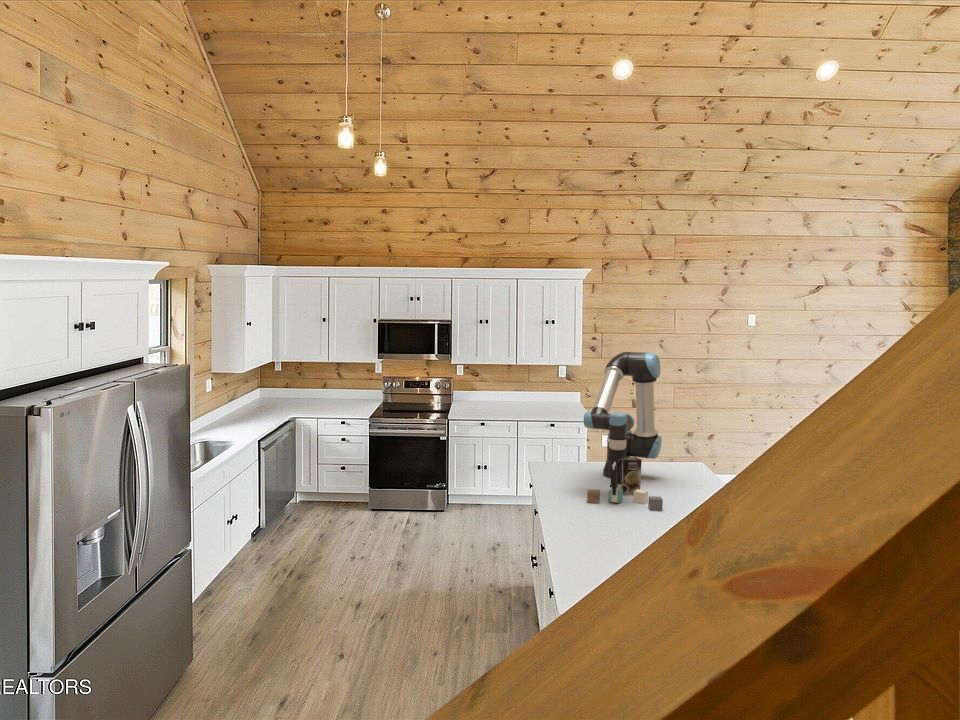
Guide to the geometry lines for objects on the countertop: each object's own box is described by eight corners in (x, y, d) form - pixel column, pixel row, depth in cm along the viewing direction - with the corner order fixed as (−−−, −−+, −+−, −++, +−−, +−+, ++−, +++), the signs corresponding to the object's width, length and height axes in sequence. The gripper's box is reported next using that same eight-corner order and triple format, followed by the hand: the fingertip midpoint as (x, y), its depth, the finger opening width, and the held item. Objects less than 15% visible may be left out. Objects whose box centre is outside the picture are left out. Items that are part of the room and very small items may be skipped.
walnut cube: (588, 500, 343) (588, 489, 343) (599, 500, 342) (599, 489, 342) (587, 503, 339) (587, 491, 338) (598, 503, 337) (599, 492, 337)
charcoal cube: (648, 507, 333) (648, 496, 332) (659, 507, 333) (660, 496, 332) (650, 510, 328) (650, 499, 327) (662, 511, 328) (662, 499, 327)
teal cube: (611, 499, 344) (611, 488, 344) (622, 500, 342) (622, 489, 342) (608, 501, 339) (609, 490, 339) (620, 503, 338) (620, 492, 337)
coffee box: (622, 494, 353) (624, 460, 352) (616, 491, 359) (617, 457, 358) (640, 493, 356) (642, 459, 354) (634, 490, 362) (635, 456, 360)
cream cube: (636, 500, 345) (637, 489, 345) (647, 501, 342) (648, 490, 342) (633, 502, 341) (633, 491, 340) (644, 504, 338) (644, 493, 338)
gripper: (613, 443, 348) (611, 494, 350) (604, 451, 332) (602, 504, 334) (629, 445, 346) (628, 496, 348) (621, 453, 329) (619, 506, 331)
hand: (615, 500), depth 341 cm, fingers closed on teal cube, 5 cm apart
